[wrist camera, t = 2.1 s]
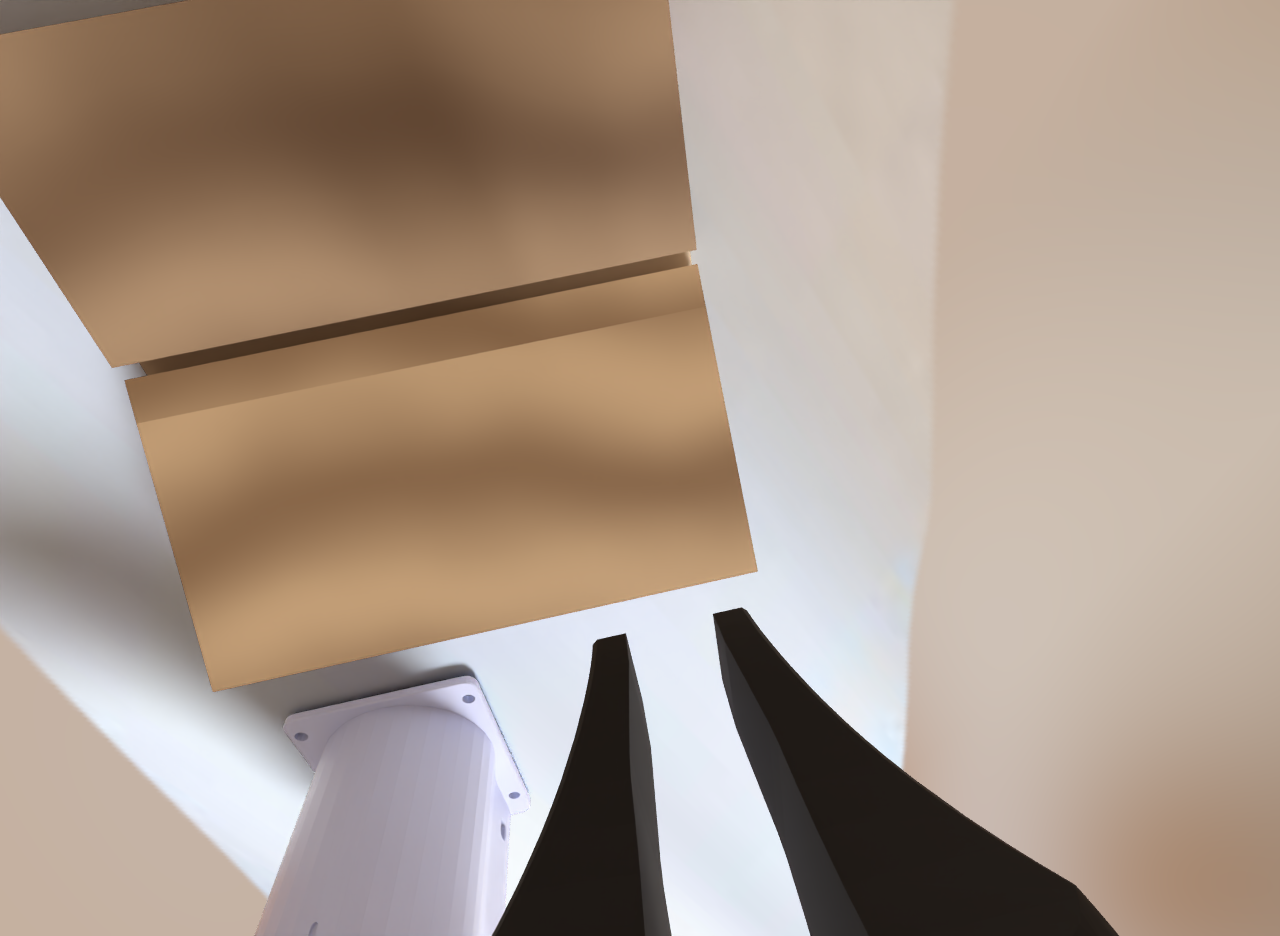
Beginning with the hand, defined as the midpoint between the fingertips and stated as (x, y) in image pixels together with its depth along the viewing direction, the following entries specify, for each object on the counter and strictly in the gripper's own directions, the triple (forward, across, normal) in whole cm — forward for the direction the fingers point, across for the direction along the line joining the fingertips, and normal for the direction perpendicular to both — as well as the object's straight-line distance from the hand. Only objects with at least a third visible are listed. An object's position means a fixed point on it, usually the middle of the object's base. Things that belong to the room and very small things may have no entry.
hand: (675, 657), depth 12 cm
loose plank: (+7, +5, -1) cm, 9 cm away
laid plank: (+9, +5, -10) cm, 14 cm away
